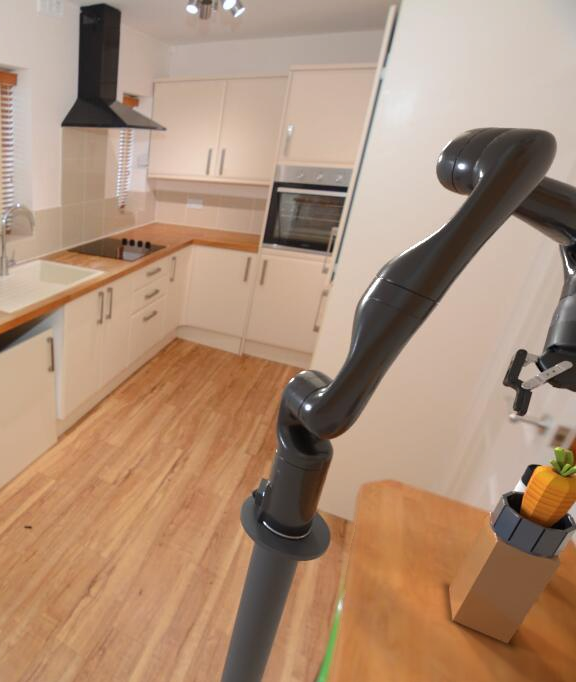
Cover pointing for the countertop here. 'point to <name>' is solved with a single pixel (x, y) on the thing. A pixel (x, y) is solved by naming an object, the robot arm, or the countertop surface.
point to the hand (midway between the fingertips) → (559, 424)
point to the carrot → (550, 491)
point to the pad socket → (507, 569)
